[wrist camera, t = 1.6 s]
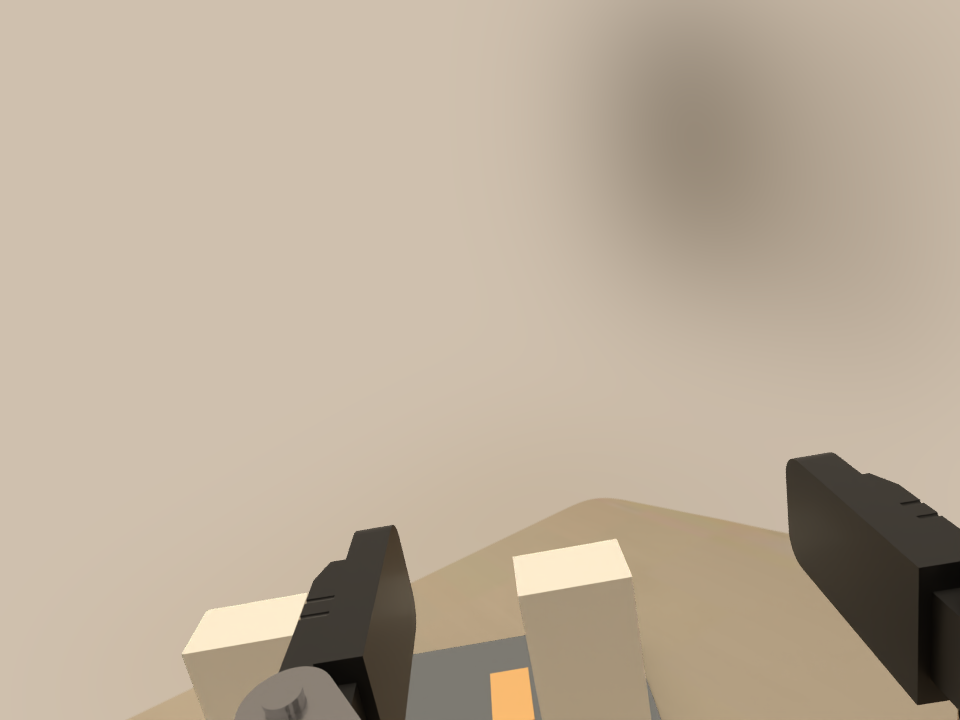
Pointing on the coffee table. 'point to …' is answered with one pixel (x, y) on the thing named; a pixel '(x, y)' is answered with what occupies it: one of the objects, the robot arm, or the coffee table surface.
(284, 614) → the beige tall rectangular block
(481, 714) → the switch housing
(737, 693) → the coffee table surface
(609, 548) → the beige square pillar
